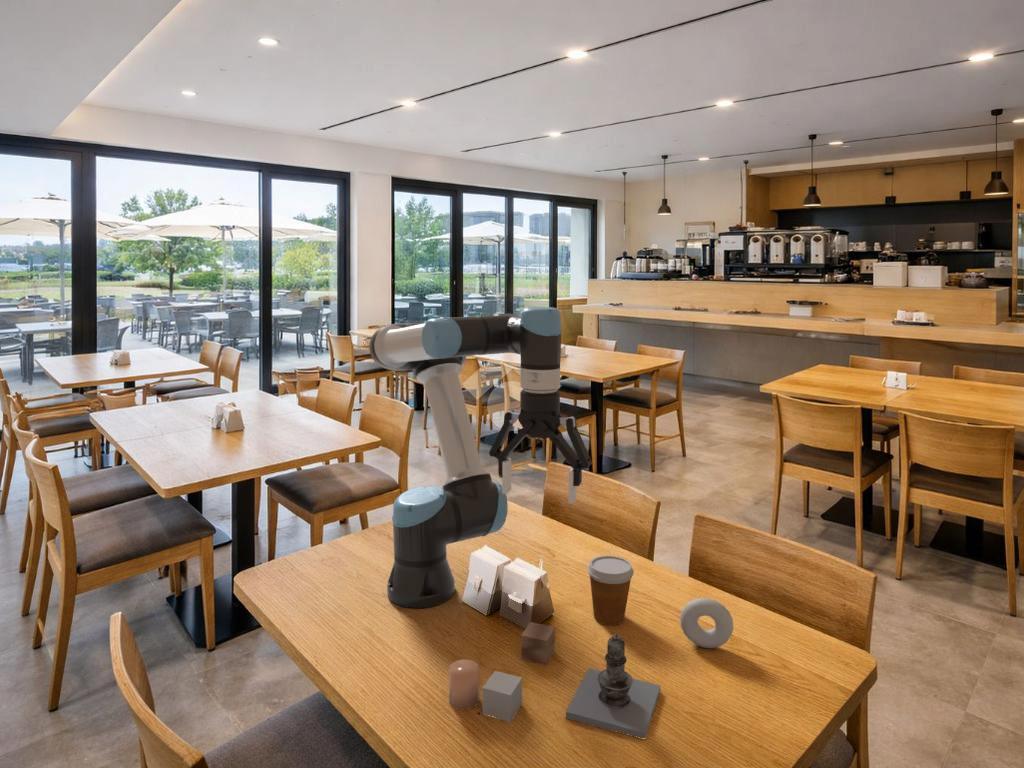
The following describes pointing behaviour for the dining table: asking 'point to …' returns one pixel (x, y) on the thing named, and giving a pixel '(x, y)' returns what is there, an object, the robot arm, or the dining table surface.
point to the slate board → (617, 719)
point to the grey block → (502, 696)
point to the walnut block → (538, 643)
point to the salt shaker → (615, 676)
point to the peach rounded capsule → (463, 684)
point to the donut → (713, 610)
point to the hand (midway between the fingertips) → (538, 496)
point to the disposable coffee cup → (610, 588)
